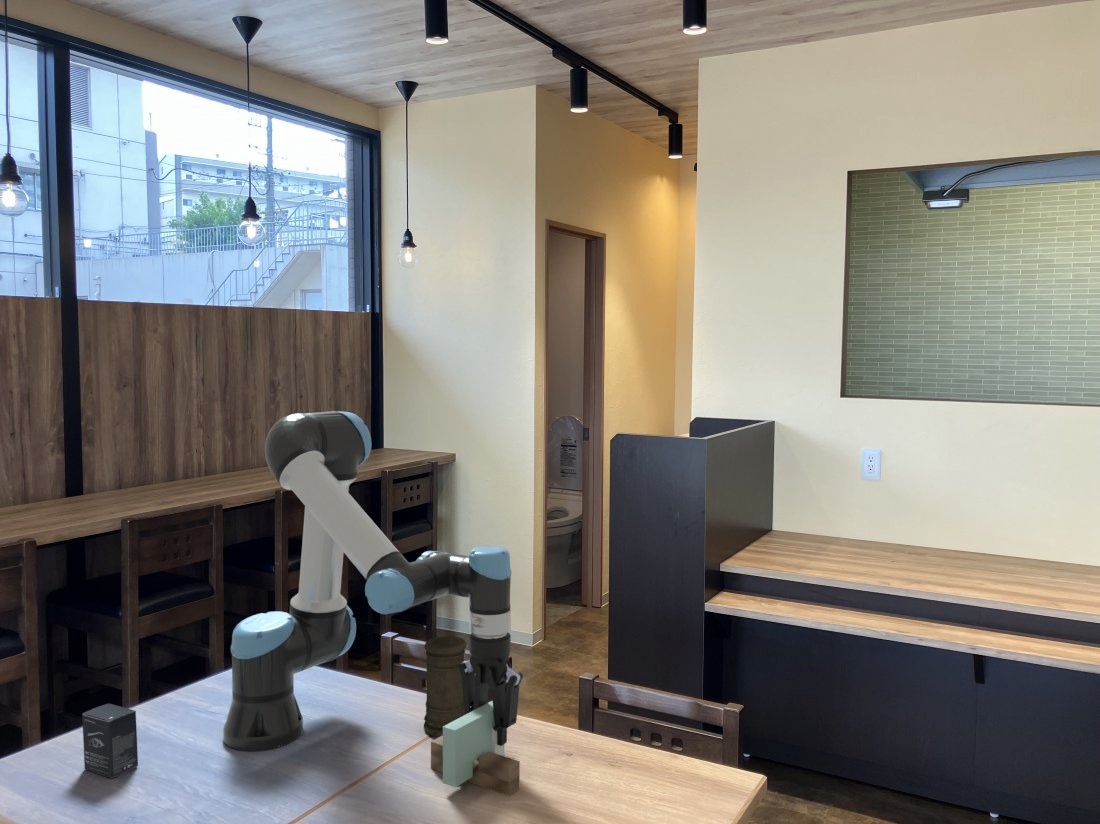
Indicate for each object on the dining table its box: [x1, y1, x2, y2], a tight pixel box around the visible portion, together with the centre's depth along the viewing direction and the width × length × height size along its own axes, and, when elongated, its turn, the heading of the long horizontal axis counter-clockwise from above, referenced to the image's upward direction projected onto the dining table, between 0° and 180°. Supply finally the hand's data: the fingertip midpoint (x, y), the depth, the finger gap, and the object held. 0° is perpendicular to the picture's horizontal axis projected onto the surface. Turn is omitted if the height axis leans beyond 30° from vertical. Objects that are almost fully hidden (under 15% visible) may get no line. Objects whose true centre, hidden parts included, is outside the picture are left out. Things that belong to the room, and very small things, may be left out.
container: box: [423, 636, 467, 738], centre depth 172 cm, size 9×9×18 cm
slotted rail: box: [430, 736, 521, 797], centre depth 151 cm, size 18×3×5 cm, turn 56°
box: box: [81, 703, 139, 779], centre depth 154 cm, size 8×6×11 cm
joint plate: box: [442, 700, 495, 788], centre depth 151 cm, size 14×3×10 cm, turn 146°
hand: (490, 758), depth 155 cm, fingers closed on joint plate, 3 cm apart
